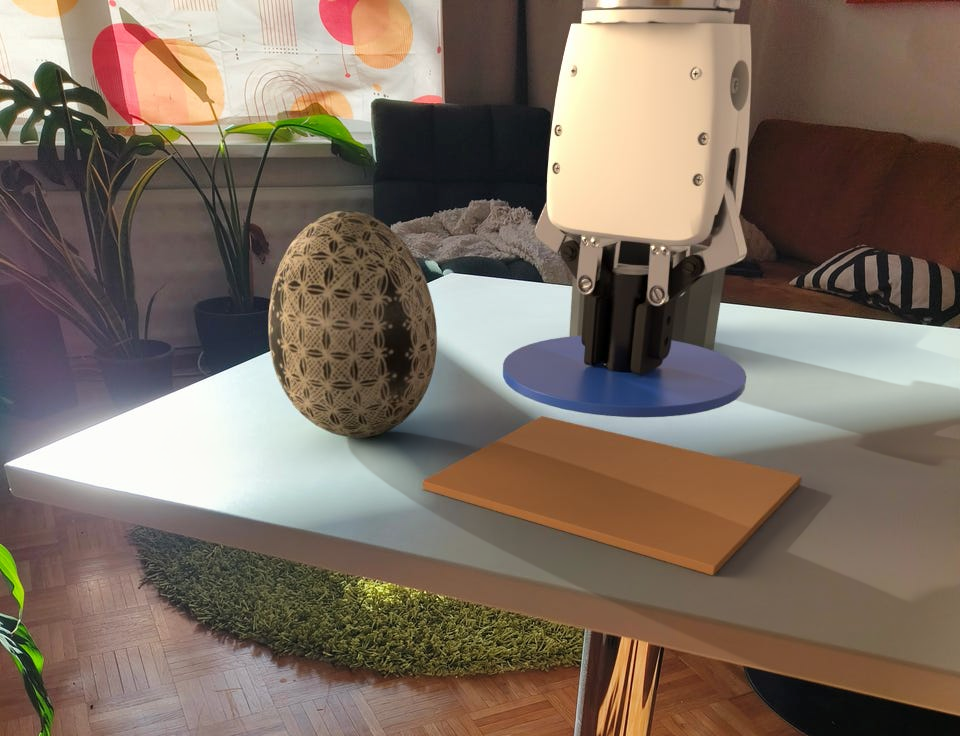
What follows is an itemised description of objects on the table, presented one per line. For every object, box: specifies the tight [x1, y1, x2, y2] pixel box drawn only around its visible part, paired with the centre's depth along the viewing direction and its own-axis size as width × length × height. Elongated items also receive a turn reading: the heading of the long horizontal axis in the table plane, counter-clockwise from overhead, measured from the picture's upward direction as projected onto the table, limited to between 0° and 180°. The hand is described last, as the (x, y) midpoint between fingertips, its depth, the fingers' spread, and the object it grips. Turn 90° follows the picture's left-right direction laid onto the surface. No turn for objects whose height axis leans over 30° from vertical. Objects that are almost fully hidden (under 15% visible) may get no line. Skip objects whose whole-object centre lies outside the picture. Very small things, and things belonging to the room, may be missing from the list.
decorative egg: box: [267, 210, 438, 439], centre depth 62 cm, size 12×12×15 cm
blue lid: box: [502, 267, 747, 418], centre depth 53 cm, size 15×15×7 cm
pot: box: [568, 240, 727, 351], centre depth 83 cm, size 14×19×8 cm
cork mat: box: [422, 415, 803, 576], centre depth 58 cm, size 20×15×1 cm
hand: (623, 362), depth 54 cm, fingers closed on blue lid, 2 cm apart
